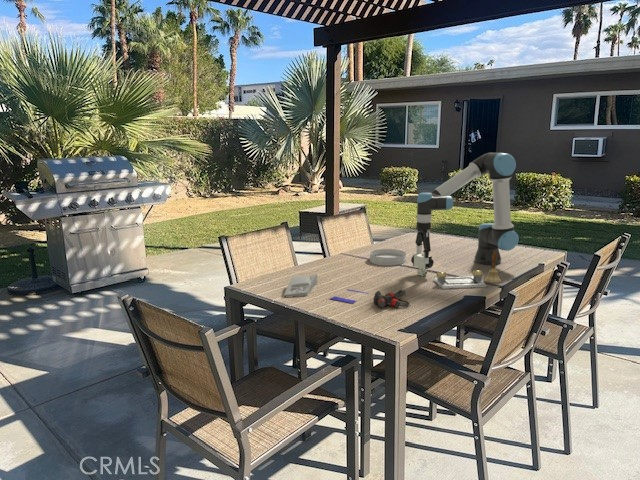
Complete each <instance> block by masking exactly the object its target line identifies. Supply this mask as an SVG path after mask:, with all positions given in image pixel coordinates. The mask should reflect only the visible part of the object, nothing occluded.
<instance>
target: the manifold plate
mask: <svg viewBox="0 0 640 480" xmlns="http://www.w3.org/2000/svg"><path fill="white" fill-rule="evenodd" d="M483 275H484V271H483V270H482V269H481V270H473V271H472V275H470V276H450V277H447V273H446V271H437V272H436V277H434V278H433V281H434V282H435V284H437V285H438V286H439V287H440V289H443V290H448V289H450V288H452V289H469V288H470V289H471V287H472V289H473V287H475V288H486V286H487V284H486V283H485V282H484V281H482V279H483Z"/></svg>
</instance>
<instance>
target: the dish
mask: <svg viewBox="0 0 640 480" xmlns="http://www.w3.org/2000/svg"><path fill="white" fill-rule="evenodd" d="M369 262H370V263H371V264H375V265H377V266H378V265H379V266H399V265H404V264H405V263H406V262H407V253H406V251H404V250H400V249H394V248H393V249H391V248H381V249H374V250H372V251H370V252H369Z"/></svg>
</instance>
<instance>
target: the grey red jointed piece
mask: <svg viewBox="0 0 640 480" xmlns="http://www.w3.org/2000/svg"><path fill="white" fill-rule="evenodd" d="M405 293H406V290H403V289H399V290H398V291H396V292H394V293H393V292H389V293H385V295H383V294H382V292H381V291H380V290H377V291H376V292H375V294H374V296H373V300H372V301H373V303H372V304H373V305H377V304H378V308H379V307H380V308H382V309H383V308H384V307H386V306H390V307H391V308H392V309H393V308H394V309H395V308H397V309H398V308H399V307H403V308H404V307H406V308H407V307H409V306H410V302H409V301H408V300H405V299H402V298H399V297H401V296H402V295H403V294H405ZM401 302H402V303H405V304H402V303H401Z"/></svg>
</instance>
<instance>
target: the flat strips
mask: <svg viewBox="0 0 640 480" xmlns="http://www.w3.org/2000/svg"><path fill="white" fill-rule="evenodd" d="M346 291H348V292H353V293H354V292H355V293H359V294H360V293H362V294H365V295H366V294H367V295H369V294H370V293H369V292H364V291H359V290H354V289H346ZM329 299H330V300H334V301H339V302H345V303H349V304H353V303H355V302H357V300H354V299H349V298H346V297H345V298H343V297H339V296H332V297H330V298H329Z"/></svg>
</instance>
